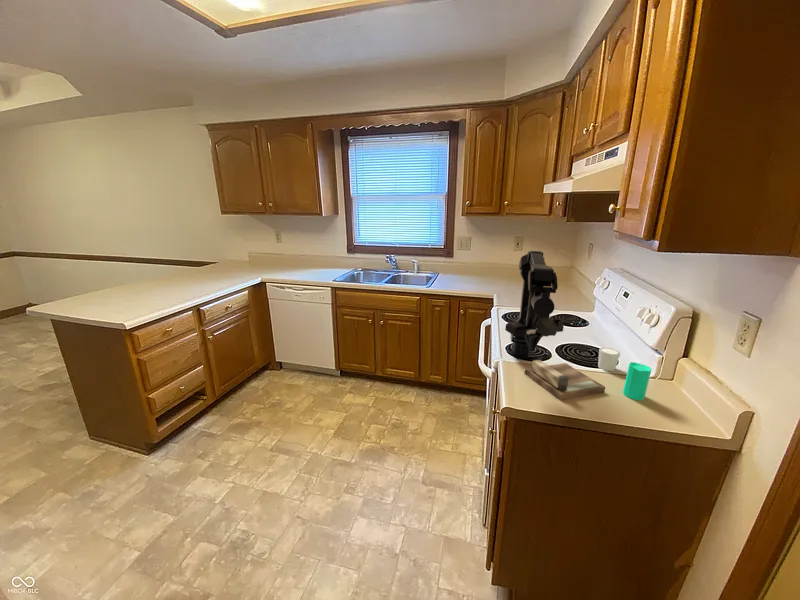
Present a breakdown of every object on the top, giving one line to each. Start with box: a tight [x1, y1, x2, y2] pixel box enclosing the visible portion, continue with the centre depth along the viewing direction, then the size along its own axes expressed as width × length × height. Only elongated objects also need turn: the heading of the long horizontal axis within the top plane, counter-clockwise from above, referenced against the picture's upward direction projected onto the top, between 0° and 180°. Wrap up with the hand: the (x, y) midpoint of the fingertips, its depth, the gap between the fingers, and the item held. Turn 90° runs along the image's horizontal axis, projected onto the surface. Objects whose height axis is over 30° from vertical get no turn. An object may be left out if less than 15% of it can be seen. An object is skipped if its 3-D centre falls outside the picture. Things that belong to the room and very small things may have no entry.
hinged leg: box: [530, 359, 569, 390], centre depth 118 cm, size 15×3×4 cm, turn 17°
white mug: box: [597, 347, 621, 372], centre depth 132 cm, size 7×7×7 cm
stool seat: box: [524, 362, 606, 401], centre depth 121 cm, size 18×18×2 cm
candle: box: [622, 361, 652, 401], centre depth 113 cm, size 6×6×12 cm
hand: (531, 350), depth 116 cm, fingers closed
